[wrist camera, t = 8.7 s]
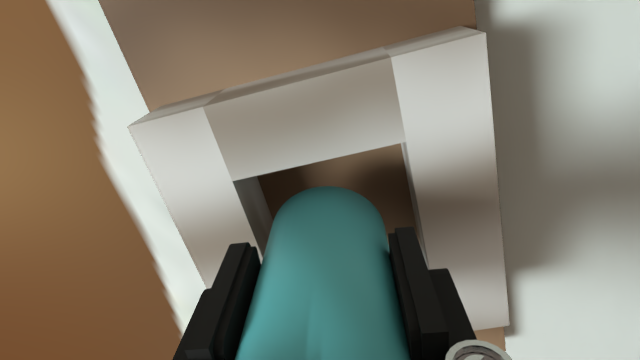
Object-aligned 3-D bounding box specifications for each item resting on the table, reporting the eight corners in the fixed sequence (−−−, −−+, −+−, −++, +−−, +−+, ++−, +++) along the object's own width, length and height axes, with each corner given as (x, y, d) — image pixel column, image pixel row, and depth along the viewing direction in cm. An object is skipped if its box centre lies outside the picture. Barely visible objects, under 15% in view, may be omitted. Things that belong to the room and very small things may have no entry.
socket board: (498, 334, 20) (527, 399, 17) (276, 366, 22) (266, 429, 19) (451, -135, 12) (491, -182, 9) (105, -20, 14) (34, -24, 11)
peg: (407, 247, 14) (487, 528, 6) (318, 298, 15) (301, 585, 8) (339, 163, 12) (344, 397, 5) (248, 227, 14) (147, 491, 6)
